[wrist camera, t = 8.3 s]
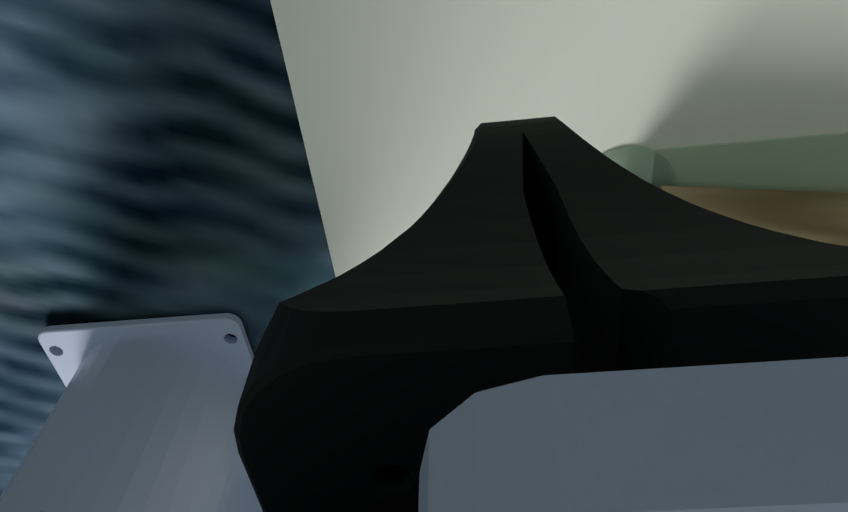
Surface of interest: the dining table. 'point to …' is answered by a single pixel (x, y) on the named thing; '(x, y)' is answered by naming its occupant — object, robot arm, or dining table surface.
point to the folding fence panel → (777, 210)
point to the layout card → (560, 94)
